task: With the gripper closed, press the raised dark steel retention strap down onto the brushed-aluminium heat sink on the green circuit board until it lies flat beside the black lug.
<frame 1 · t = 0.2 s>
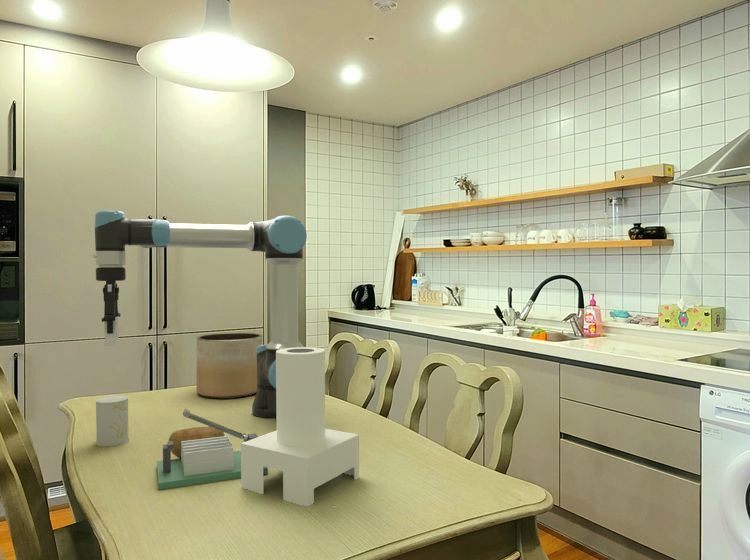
hand: (112, 342, 156), 28 cm above the table, fingers open, 13 cm apart
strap: (216, 425, 134), point 11 cm above the table, hinge at 28.0°
white patterned canister: (112, 442, 157), on the table
planter: (230, 392, 219), on the table
heatsink board: (211, 470, 134), on the table
paper towel holder: (301, 483, 126), on the table
potato: (197, 459, 142), on the table, touching heatsink board
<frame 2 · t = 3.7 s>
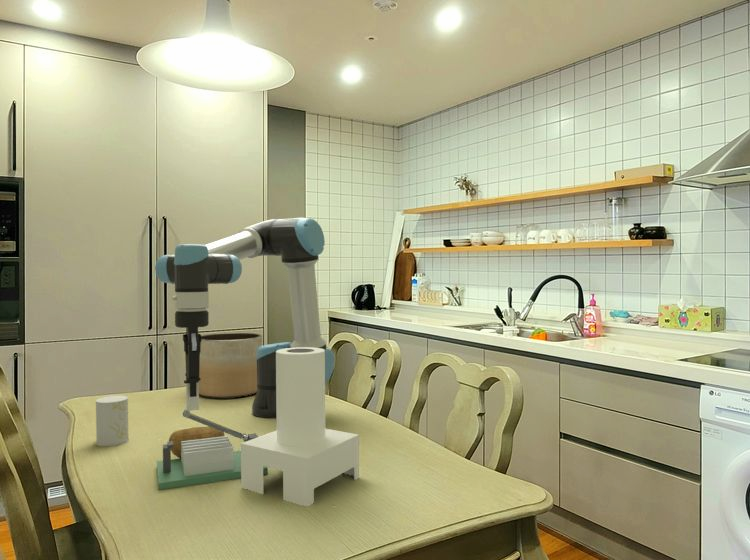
hand: (192, 409, 132), 15 cm above the table, fingers closed
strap: (216, 425, 134), point 11 cm above the table, hinge at 27.8°, touching gripper
everything else where it was.
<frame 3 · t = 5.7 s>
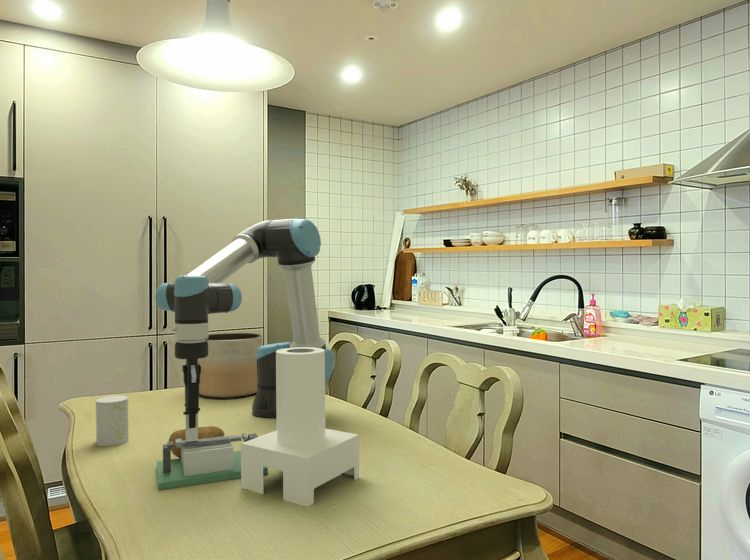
hand: (191, 440, 132), 8 cm above the table, fingers closed
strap: (212, 440, 134), point 7 cm above the table, hinge at 1.5°, touching gripper
everything else where it was.
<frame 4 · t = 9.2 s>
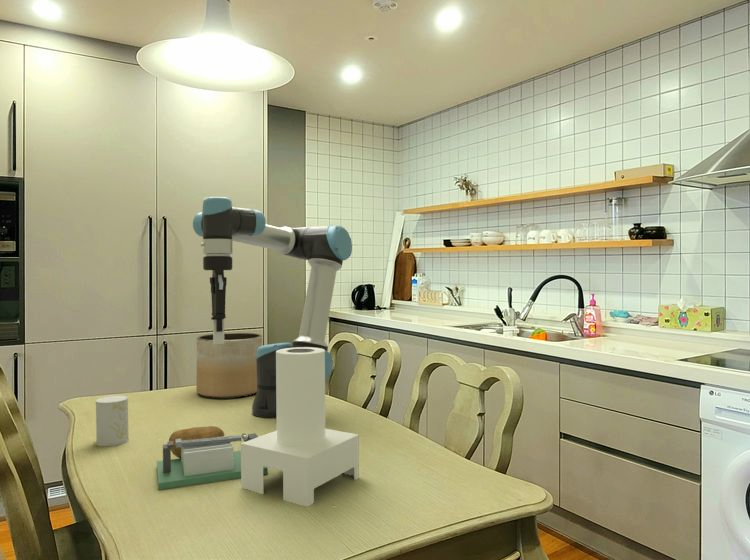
hand: (218, 343, 149), 28 cm above the table, fingers closed
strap: (212, 440, 134), point 7 cm above the table, hinge at 1.5°
everything else where it was.
at the end: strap at +2° (first picture: +28°) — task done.
